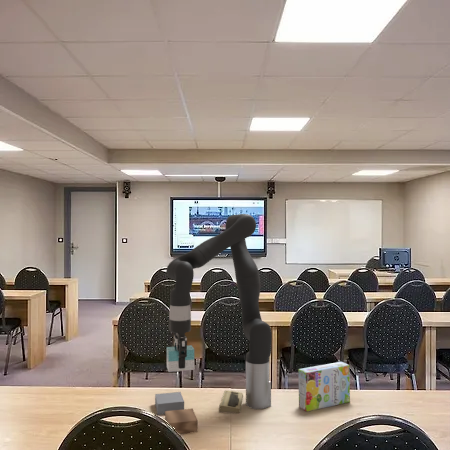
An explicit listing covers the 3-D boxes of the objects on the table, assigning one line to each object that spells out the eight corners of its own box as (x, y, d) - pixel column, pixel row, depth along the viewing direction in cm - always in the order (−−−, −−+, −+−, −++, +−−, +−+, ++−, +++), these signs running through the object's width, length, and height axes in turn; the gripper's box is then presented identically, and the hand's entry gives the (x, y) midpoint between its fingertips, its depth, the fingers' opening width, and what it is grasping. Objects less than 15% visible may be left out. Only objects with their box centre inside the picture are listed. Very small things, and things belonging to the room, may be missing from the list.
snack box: (341, 397, 183) (341, 360, 182) (350, 402, 177) (350, 364, 177) (297, 406, 173) (297, 368, 173) (306, 412, 168) (306, 372, 168)
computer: (240, 414, 167) (240, 405, 167) (218, 413, 168) (218, 404, 168) (243, 398, 183) (243, 390, 183) (223, 397, 184) (223, 389, 184)
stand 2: (192, 419, 162) (192, 408, 162) (197, 431, 152) (197, 420, 152) (165, 422, 160) (165, 411, 160) (168, 435, 150) (168, 423, 150)
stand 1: (180, 401, 178) (180, 391, 178) (184, 412, 168) (184, 401, 168) (155, 404, 176) (155, 394, 176) (157, 414, 166) (157, 404, 166)
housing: (191, 364, 161) (191, 345, 161) (194, 369, 155) (194, 349, 155) (166, 366, 159) (166, 347, 158) (168, 371, 153) (168, 351, 153)
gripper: (194, 321, 151) (194, 371, 151) (187, 312, 165) (187, 358, 165) (172, 322, 149) (172, 373, 149) (166, 314, 163) (167, 360, 163)
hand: (180, 365), depth 157 cm, fingers closed on housing, 5 cm apart
